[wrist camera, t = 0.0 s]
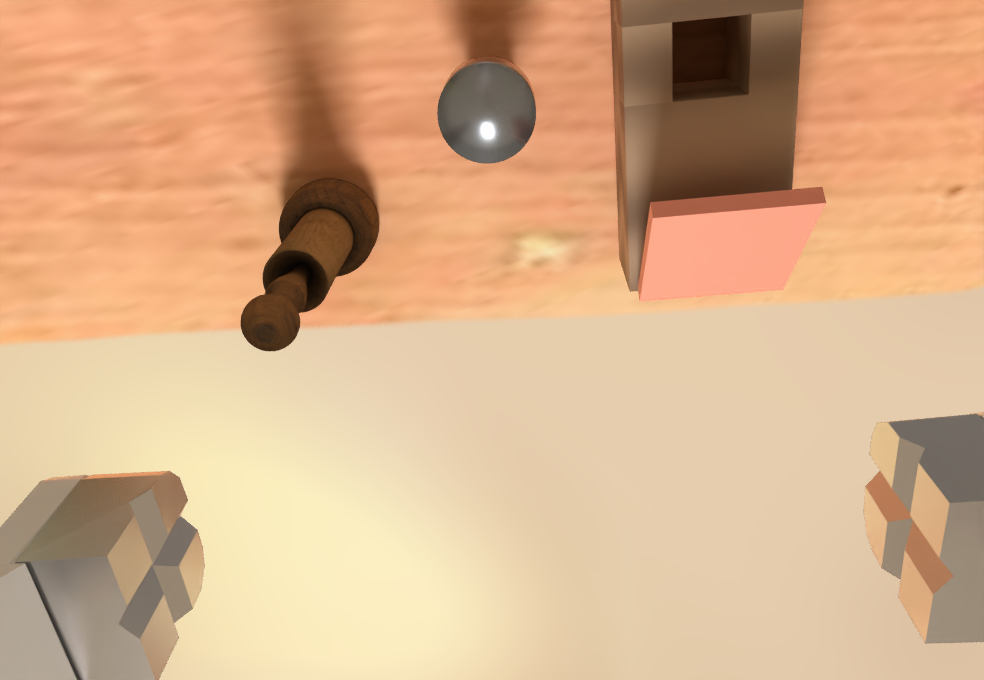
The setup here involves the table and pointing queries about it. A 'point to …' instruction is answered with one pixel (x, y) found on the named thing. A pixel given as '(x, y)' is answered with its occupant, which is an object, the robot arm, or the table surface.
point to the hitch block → (700, 109)
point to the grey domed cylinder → (487, 110)
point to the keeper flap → (726, 243)
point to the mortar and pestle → (310, 258)
